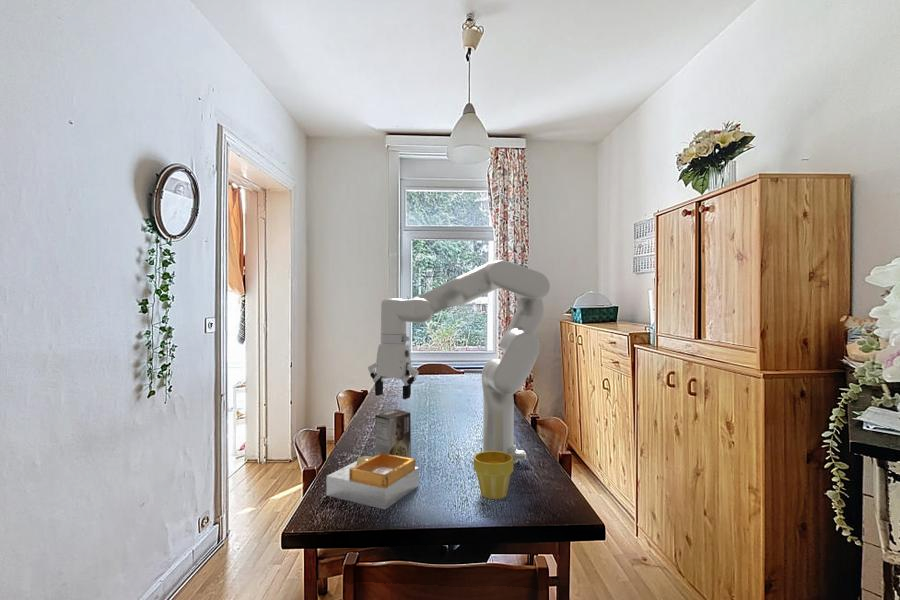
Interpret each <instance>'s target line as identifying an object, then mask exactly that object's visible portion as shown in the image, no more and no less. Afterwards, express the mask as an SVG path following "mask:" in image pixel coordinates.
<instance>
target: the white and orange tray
mask: <svg viewBox="0 0 900 600" xmlns="http://www.w3.org/2000/svg"><path fill="white" fill-rule="evenodd" d="M419 469H420V467H418V466H416V458H413V457H411V458H407V457H401V456H396V455H390V454H384V453H380V454H378V455H376V454H375V455H373V456H371V455H370V456H369V455H363V456H360V457H358V458H356V461H354V462H352V463H349V464H348V465H346V466H344V467H342V468H339V469H338V470H336V471H333V472H332V473H329V474H327V475H326V496H327V497H331V498H335V499H340V500H344V501H349V502H351V503H356V504H360V505H365V506H369V507H373V508H377V509H381V510H387V509H388V508H389V507H391V506H393V505H394V504H395V503H397V502H398V501H399V500H401V499H402V498H404V497H405V496H406V495H408V494H410V493H411V492H412V491H414V490H415V489H416V488H418V487H419V485H420V484H419V480H420V477H419V474H420V473H419Z"/></svg>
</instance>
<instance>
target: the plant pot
mask: <svg viewBox="0 0 900 600" xmlns="http://www.w3.org/2000/svg"><path fill="white" fill-rule="evenodd" d="M514 465H515V464H514V461H513V456H512V455H510V454H508V453H505V452H501V451H484V452H483V451H480V452H477V453H475V454H474V456H473V471H474V472H475V473H476V476H477V480H478V486H479V490H480V491H479V492H480V495H481V496H482V497H484V498H485V499H489V500H501V499H504V498H506V497H507V495H508V489H509V485H510V484H509V483H510V480H511V475H512V473H513V472H514Z"/></svg>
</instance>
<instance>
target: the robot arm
mask: <svg viewBox="0 0 900 600" xmlns="http://www.w3.org/2000/svg"><path fill="white" fill-rule="evenodd" d="M550 288H551V286H550V281H549V279H548V277H547V276H546V275H545V274H543V273H542V272H540V271H537V270H534V269H532V268H528V267H525V266H522V265H520V264H516V263H514V262H511V261H508V260H504V259H497V260H494V261H490V262H488V263H485V264H483V265H481V266H479V267H476V268H473V269H472V270H470V271H468V272H466V273H463V274H461V275H459V276H457V277H455V278H453V279H451V280H449V281H446V282H445V283H443V284H441V285H439V286H437V287H435V288H432V289H430V290H428V291H427V292H424V293H422V294H419V295H417V296H415V297H413V298H411V299H410V298H409V299H403V298H391V297H390V298H384V299H383V300H382V301H381V304H380V306H381V307H380V309H381V310H380V343H379V344H378V347H377V353H376V360H375V363H373V364H371V365H369V366H368V367H367V369H368V371H369V374H370V377H371V379H372V381H373V383H374V393H375V394H374V395H375V396H377V397H378V396H381V395H384V381H383V379H384V378H389V379H396V380H397V379H399V380H401V381H402V383H403V384H404V385H402V399H403V400H407V399H410V397H411V393H412V385H413V383H414V382H415V381H416V380H417V377H418V376H419V373H420V372H419V370H418V369H416V368H415V367H414V366H413V365H412V359H411V358H412V357H411V352H410V345H409V344H407V342H409V341H410V336H407V323H414V324H424V323H427V322H428V321H430V320H431V319H432V317H433V316H434V315H435V314H438V313H440V312H442V311H444V310H447V309H450V308H453V307H455V308H456V307H458V306H463V305H465V304H468V303H470V302H472V301H474V300H477V299H478V298H481V297H483V296H484V295H486V294H489V293H492V292H493V291H495V290H497V289H501V290H505V291H507V292H510V293H513V294H514V297H515V299H516V309H515V312H514V313H515V314H514V315H513V317H512V319H511V321H510V322H509V325H508V327H507V329H506V331H505V333H504V334H503V336H502V337H501V339H500V344H499V346H500V350H501V352H502V354H503V356H502V358H493V359H490V360H488V361H487V362H486V363H485V364H484V366H483V367H482V371H481V383H482V384H481V385H482V386H481V387H482V398H483V400H482V401H483V403H482V404H483V410H482V411H483V413H482V415H483V416H482V417H483V418H482V419H483V421H482V424H483V425H482V430H483V432H482V433H483V434H482V437H483V438H482V452H484V451H501V452H505V453H508V454H510V455H512V456H513V461H514V465H516V464H517V463H518V462H519V460H520V459H521V460H526V459H527V453H526V450H519V449H518V448H517V444H514V434H515V433H514V430H515V429H514V426H515V425H514V419H515V418H514V416H515V413H514V411H515V400H514V395H515V394H516V393H517V392H518V391H520V390H521V389H522V387H523V385H524V384H525V382H526V380H527V379H528V377H529V375H530V373H531V371H532V369H533V367H534V365H535V364H536V361H537V360H538V357H539V354H540V349H541V346H540V345H541V344H540V340H539V339H538V337H537V336H536V334H537V331H538V329H539V327H540V325H541V322H542V321H543V318H544V302H543V299H544V298H545V297H546V296H547V295H548V294H549V291H550Z"/></svg>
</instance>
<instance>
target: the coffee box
mask: <svg viewBox="0 0 900 600" xmlns="http://www.w3.org/2000/svg"><path fill="white" fill-rule="evenodd" d="M411 433H412V432H411V412H407V411H405V410H401V409H397V408H396V409H393V410H389V411H386V412H382V413H378V414H375V456H376V455H378V454H380V453H384V454H390V455H396V456H401V457H407V458H412V448H411V447H412V446H411V445H412V441H411V440H412V439H411V437H412V436H411Z"/></svg>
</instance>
